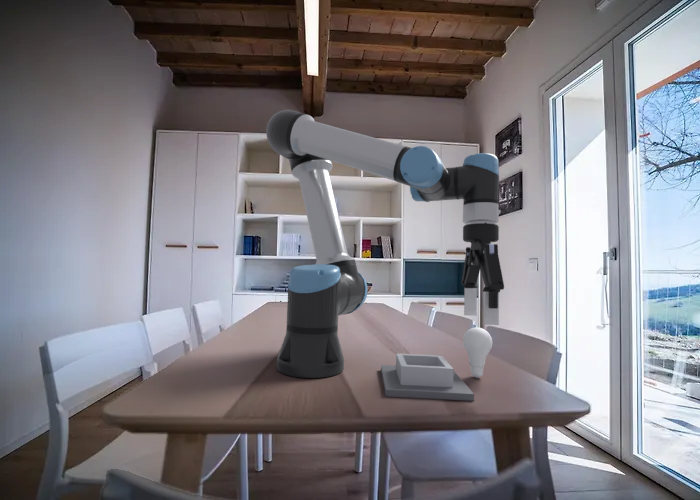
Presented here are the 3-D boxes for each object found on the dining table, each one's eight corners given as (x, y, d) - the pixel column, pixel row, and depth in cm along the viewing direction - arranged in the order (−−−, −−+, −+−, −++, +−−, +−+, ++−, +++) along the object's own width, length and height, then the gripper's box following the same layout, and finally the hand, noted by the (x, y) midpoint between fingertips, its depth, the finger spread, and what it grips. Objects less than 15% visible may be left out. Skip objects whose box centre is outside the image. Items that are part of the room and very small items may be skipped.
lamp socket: (385, 396, 65) (386, 370, 65) (380, 370, 81) (381, 349, 81) (474, 400, 64) (474, 374, 64) (451, 373, 80) (452, 352, 80)
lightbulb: (494, 383, 74) (495, 331, 75) (463, 380, 76) (465, 328, 76) (488, 375, 80) (489, 326, 81) (460, 372, 82) (462, 324, 82)
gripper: (523, 216, 67) (522, 329, 66) (478, 230, 92) (478, 312, 91) (483, 215, 67) (482, 328, 66) (449, 229, 92) (448, 311, 91)
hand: (479, 319), depth 78 cm, fingers open, 13 cm apart
